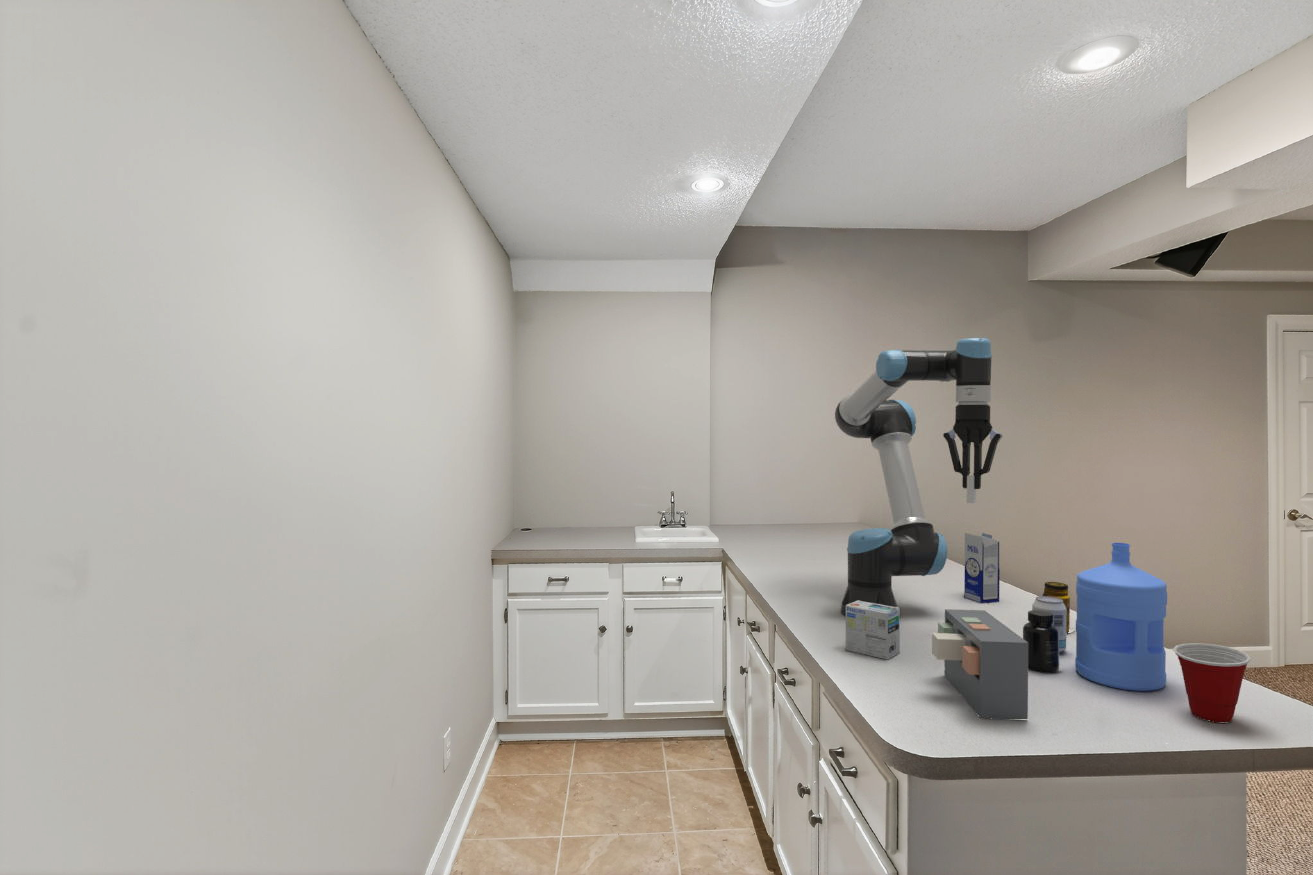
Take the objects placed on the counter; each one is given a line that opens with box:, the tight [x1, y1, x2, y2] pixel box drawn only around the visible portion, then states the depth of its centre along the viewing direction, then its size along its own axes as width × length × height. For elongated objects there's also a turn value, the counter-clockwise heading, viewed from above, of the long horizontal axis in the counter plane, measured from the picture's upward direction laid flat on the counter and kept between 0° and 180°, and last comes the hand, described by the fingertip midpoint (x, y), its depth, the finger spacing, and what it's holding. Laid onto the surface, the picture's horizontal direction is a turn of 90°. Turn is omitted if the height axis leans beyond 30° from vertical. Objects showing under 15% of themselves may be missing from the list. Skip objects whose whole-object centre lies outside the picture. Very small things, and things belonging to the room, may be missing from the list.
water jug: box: [1074, 542, 1168, 692], centre depth 141 cm, size 16×16×28 cm
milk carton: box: [963, 532, 1001, 605], centre depth 203 cm, size 7×7×20 cm
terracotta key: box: [962, 646, 980, 675], centre depth 125 cm, size 7×4×4 cm, turn 84°
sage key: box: [937, 622, 953, 634], centre depth 139 cm, size 7×4×4 cm, turn 84°
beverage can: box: [1031, 595, 1067, 654], centre depth 158 cm, size 7×7×12 cm
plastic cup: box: [1172, 642, 1252, 723], centre depth 122 cm, size 11×11×12 cm
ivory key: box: [931, 632, 966, 661], centre depth 132 cm, size 7×4×4 cm, turn 84°
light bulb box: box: [845, 600, 901, 661], centre depth 158 cm, size 11×7×11 cm, turn 48°
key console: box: [943, 608, 1029, 720], centre depth 132 cm, size 8×21×14 cm, turn 174°
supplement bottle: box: [1022, 610, 1060, 674], centre depth 147 cm, size 7×7×12 cm
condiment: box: [1042, 581, 1071, 633], centre depth 173 cm, size 7×8×12 cm
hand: (971, 502), depth 163 cm, fingers closed
